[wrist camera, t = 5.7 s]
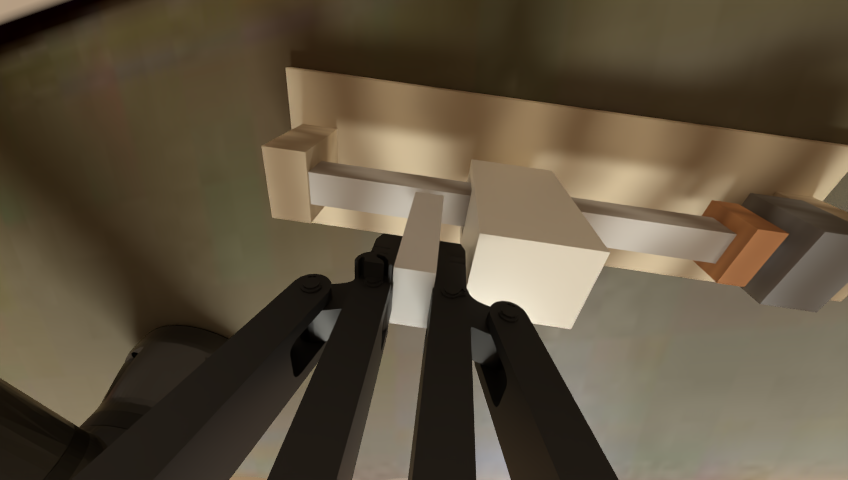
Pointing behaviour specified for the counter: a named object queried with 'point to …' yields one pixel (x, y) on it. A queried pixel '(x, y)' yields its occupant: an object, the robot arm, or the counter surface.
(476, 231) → the sleeve
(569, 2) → the counter surface
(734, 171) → the stand
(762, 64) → the counter surface
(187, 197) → the counter surface
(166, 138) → the counter surface
